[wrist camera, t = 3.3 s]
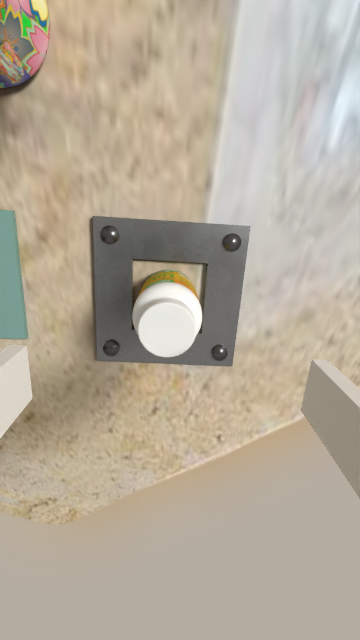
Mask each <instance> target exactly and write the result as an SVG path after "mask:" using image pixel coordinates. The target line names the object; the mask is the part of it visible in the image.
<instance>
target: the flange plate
mask: <svg viewBox="0 0 360 640" xmlns="http://www.w3.org/2000/svg"><path fill="white" fill-rule="evenodd" d="M249 232H250V226H238V225H223V224H207V223H192V222H176V221H161V220H145V219H130V218H114V217H99V216H93V245H94V279H95V312H96V346H97V361H120V362H142V363H165V364H188V365H211V366H232V364H233V356H234V348H235V340H236V333H237V325H238V317H239V310H240V302H241V294H242V286H243V279H244V271H245V263H246V256H247V248H248V240H249ZM133 259H143V260H160V261H177V262H194V263H207V271H206V282H205V293H204V305H203V316H202V327H201V331H199V332H198V334H197V335H196V337H195V339H194V342H193V343H192V345H191V346H190V348H189V349H188V350H186V351H185V352H184V353H182V354H180V355H178V356H174V357H160V356H157V355H154V354H152V353H151V352H149V351H148V350H147V349H146V348H145V347H144V346H143V345H142V343H141V341H140V339H139V336H138V334H137V332H136V330H135V328H132V313H133Z"/></svg>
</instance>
